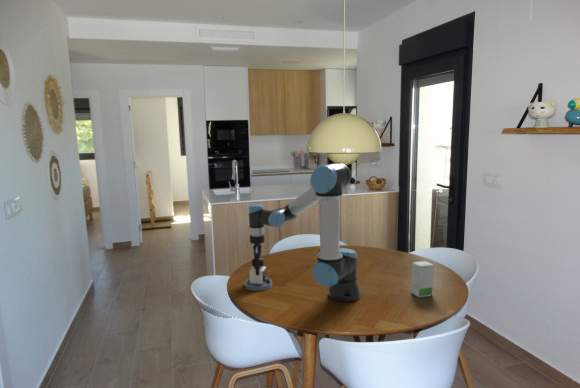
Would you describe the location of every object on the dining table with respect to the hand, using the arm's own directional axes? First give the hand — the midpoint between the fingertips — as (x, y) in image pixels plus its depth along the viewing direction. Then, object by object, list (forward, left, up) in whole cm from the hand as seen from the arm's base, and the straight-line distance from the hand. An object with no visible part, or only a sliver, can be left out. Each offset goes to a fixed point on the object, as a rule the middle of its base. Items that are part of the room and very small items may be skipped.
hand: (258, 277), depth 209 cm
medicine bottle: (0, 0, -2) cm, 2 cm away
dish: (0, 0, -5) cm, 5 cm away
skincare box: (-68, -45, -5) cm, 82 cm away
